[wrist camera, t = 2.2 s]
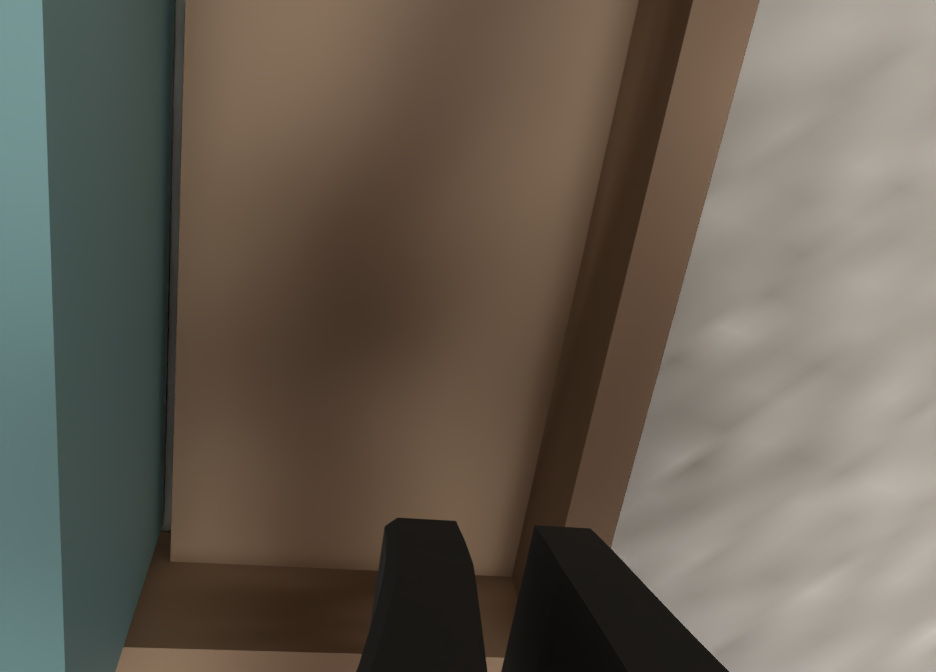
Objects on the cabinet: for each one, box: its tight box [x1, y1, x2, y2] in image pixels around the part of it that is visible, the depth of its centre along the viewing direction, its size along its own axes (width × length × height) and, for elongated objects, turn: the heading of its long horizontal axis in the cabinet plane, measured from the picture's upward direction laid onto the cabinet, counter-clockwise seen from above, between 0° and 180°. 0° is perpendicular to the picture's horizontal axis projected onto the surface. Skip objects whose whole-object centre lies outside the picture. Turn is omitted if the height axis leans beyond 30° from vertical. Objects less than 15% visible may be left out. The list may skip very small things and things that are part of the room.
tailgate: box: [0, 0, 175, 672], centre depth 13 cm, size 1×12×7 cm, turn 171°
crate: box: [115, 0, 759, 672], centre depth 16 cm, size 10×15×4 cm, turn 171°
